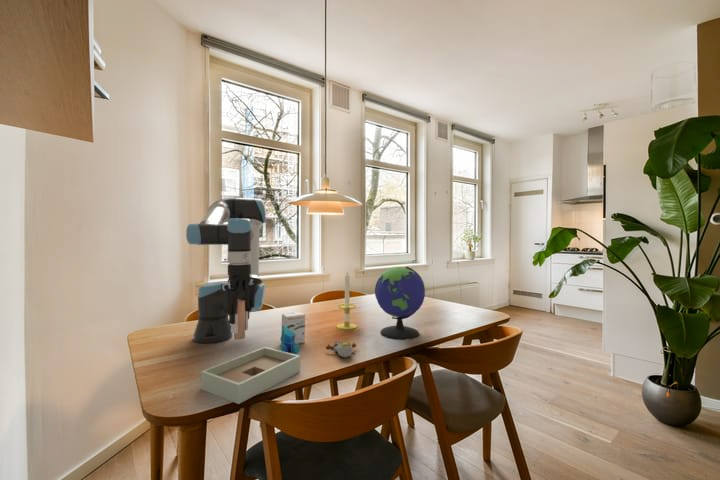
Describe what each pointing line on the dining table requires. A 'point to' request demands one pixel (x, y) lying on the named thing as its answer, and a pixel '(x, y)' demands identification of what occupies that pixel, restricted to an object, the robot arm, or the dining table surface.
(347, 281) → the candle
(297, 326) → the ink box
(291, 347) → the gemstone
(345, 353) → the toy
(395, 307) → the globe
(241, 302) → the peg
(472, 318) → the dining table surface
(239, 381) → the box
